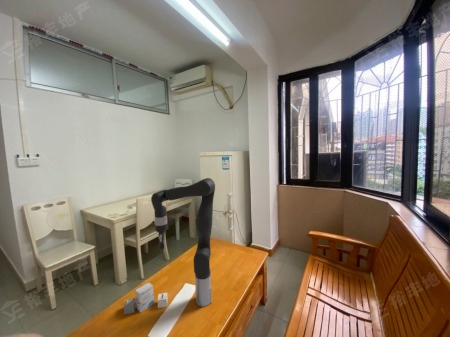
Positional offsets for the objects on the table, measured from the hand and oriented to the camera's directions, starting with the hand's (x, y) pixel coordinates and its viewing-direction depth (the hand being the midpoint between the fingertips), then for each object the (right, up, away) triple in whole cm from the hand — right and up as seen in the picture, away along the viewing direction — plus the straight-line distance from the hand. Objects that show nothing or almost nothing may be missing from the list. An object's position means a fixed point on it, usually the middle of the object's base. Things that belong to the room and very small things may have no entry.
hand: (162, 248), depth 120 cm
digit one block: (+3, -30, -7) cm, 31 cm away
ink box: (-7, -31, -8) cm, 33 cm away
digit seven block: (-15, -31, -11) cm, 36 cm away
